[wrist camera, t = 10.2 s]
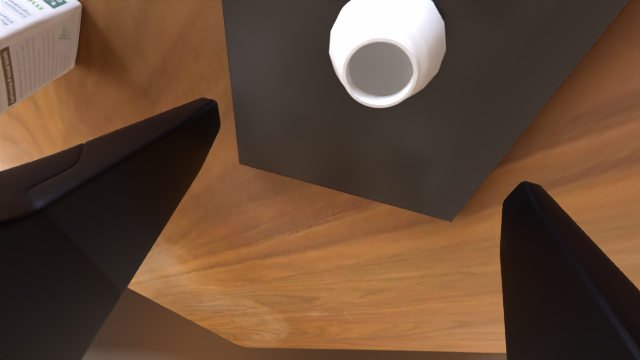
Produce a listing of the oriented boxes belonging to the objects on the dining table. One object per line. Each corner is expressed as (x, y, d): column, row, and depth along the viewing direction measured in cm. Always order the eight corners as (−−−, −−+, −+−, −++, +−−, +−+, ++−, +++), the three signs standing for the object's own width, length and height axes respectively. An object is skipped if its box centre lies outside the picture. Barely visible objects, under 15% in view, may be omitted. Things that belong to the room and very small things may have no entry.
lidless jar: (398, 108, 17) (471, 24, 13) (393, 144, 15) (477, 56, 11) (316, 59, 16) (369, -46, 12) (299, 90, 14) (357, -25, 10)
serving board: (935, -424, 6) (996, -457, 5) (451, 211, 23) (451, 222, 22) (187, -506, 7) (162, -541, 7) (244, 155, 24) (239, 164, 23)
